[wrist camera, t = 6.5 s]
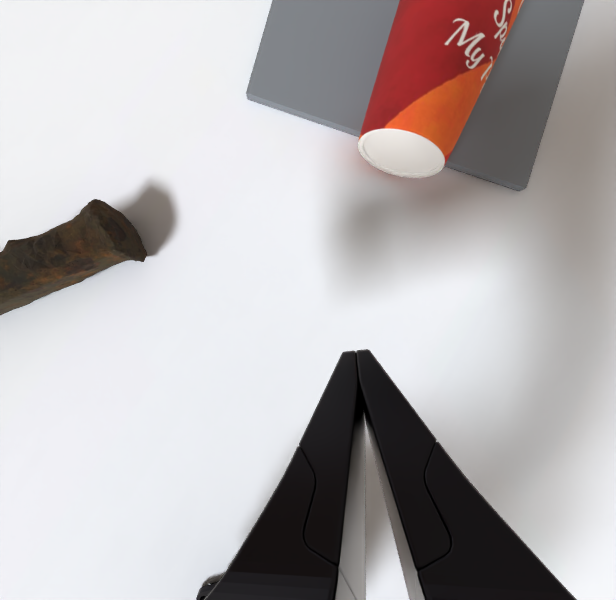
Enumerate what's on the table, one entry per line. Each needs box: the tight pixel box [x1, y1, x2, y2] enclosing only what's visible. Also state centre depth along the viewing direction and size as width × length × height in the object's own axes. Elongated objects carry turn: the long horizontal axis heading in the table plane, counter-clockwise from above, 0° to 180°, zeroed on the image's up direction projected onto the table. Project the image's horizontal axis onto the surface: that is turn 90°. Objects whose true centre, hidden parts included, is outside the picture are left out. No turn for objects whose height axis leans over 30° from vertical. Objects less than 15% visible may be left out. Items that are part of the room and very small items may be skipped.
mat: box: [246, 0, 584, 191], centre depth 19 cm, size 18×22×1 cm
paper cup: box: [358, 0, 524, 178], centre depth 15 cm, size 8×8×14 cm
